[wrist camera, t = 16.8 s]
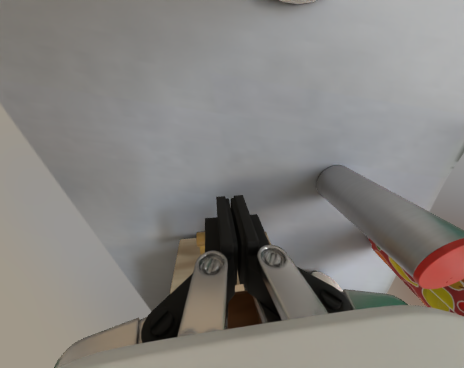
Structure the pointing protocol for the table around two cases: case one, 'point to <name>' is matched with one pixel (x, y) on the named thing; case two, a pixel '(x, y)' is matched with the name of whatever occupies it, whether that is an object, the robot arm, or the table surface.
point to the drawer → (242, 302)
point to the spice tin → (398, 227)
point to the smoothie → (446, 298)
